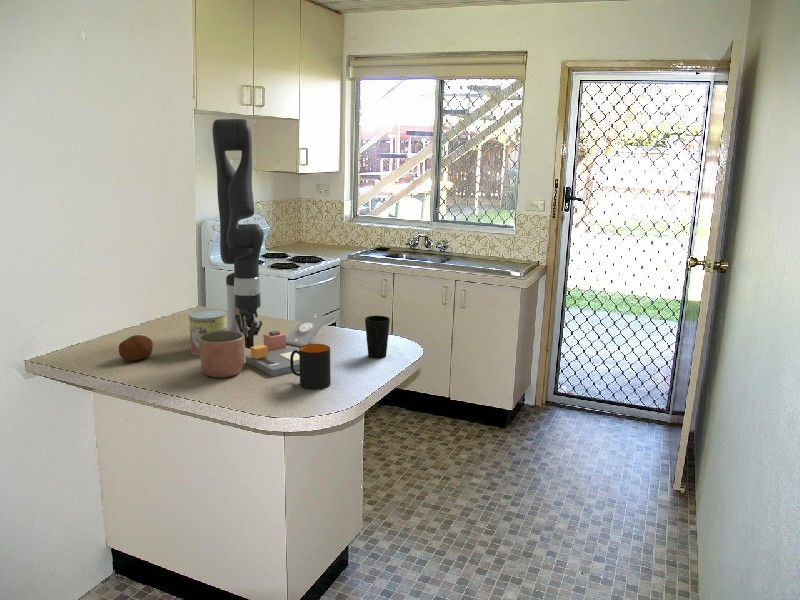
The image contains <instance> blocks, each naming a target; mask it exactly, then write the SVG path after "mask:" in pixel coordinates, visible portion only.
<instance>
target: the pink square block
mask: <svg viewBox="0 0 800 600" xmlns="http://www.w3.org/2000/svg"><path fill="white" fill-rule="evenodd" d="M286 338H287V335H286V334H284V333H283V332H280V331H278V330H272V331H271V330H270V331H268V332H267V333H263V345H265V346H267V347H268V352H269V351H273V350H278V349H283V348H287V344H286Z"/></svg>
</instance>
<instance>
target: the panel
mask: <svg viewBox="0 0 800 600" xmlns="http://www.w3.org/2000/svg"><path fill="white" fill-rule="evenodd" d="M294 350H298V351H299V348H296V347H293V346H289V347H286V348H283V349H278V350H273V351H269V352H268V357H264V358H259V359H255V358H253V357H251V354H250V355H249V354H248V355H244V358H245V364H247V365H250V366H251V367H254V368H255V369H257V370H259V371H260V372H263V373H265V374H267V375H269V376H271V377H277V376H282V375H286V374H291V373H293V372H292V370H291V366H290V356H291V353H292V352H293V351H294ZM293 367H294V370H295V372H298V371H299V372H300V363H299V354H298V353H295V354H294V356H293Z"/></svg>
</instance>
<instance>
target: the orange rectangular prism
mask: <svg viewBox="0 0 800 600" xmlns="http://www.w3.org/2000/svg"><path fill="white" fill-rule="evenodd" d="M250 355H251V357H253V358H255V359H259V358H264V357H268V347H267V346H265V345H264V344H257V345H254V346H253V347H251V349H250Z"/></svg>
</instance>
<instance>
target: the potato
mask: <svg viewBox="0 0 800 600" xmlns="http://www.w3.org/2000/svg"><path fill="white" fill-rule="evenodd" d="M153 348H154V343H153V341H152V339H151V338H150V337H148V336H146V335H140V334H139V335H138V334H136V335H131V336H130V337H127V339H124V340H123V341H122V342H120V343H119V344H118V354H119V356H120V357H121V359H123V360H124V361H127V362H135V361H139V360H143V359H146V358H149V357H150V356H151V355H152V352H153Z"/></svg>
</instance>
